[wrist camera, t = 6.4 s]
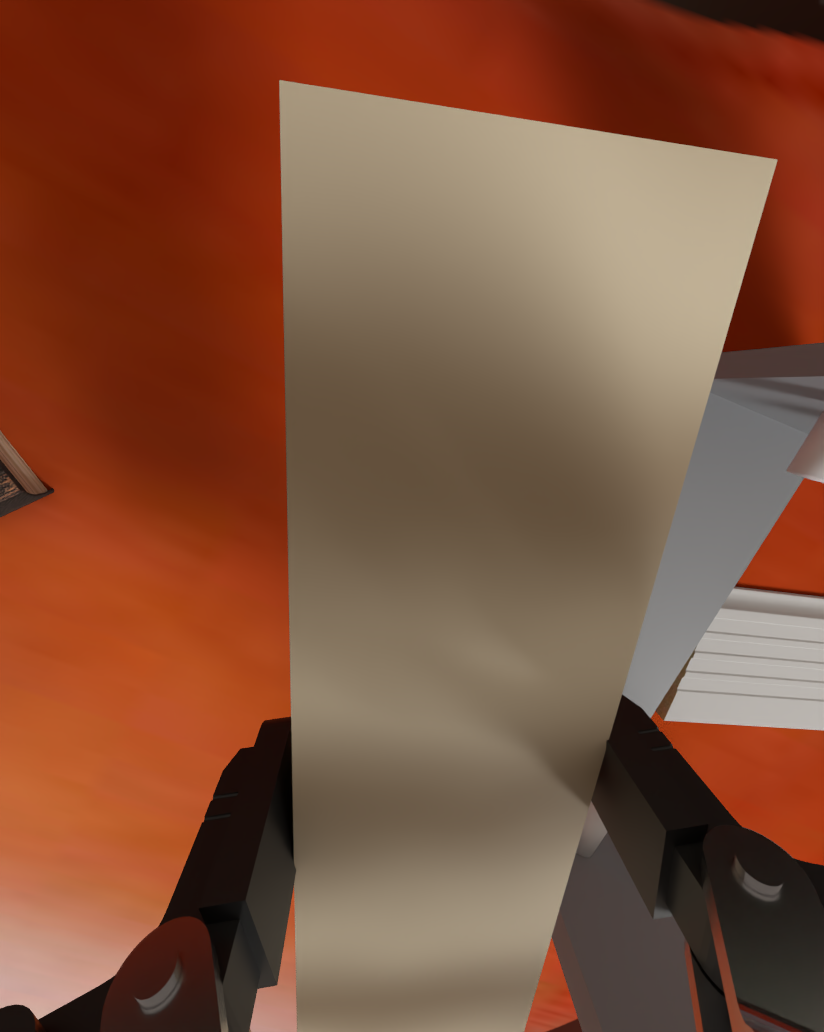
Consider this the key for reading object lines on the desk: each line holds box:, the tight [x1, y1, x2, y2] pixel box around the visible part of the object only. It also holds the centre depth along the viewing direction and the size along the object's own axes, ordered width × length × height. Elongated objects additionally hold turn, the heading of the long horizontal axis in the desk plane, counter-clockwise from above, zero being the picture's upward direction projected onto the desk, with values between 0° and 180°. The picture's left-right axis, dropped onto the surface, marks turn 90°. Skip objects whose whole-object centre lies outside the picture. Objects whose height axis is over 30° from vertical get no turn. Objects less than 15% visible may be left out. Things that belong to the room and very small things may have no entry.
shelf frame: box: [552, 343, 824, 1032], centre depth 18 cm, size 26×10×16 cm, turn 161°
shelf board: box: [279, 80, 777, 1032], centre depth 9 cm, size 22×6×4 cm, turn 175°
